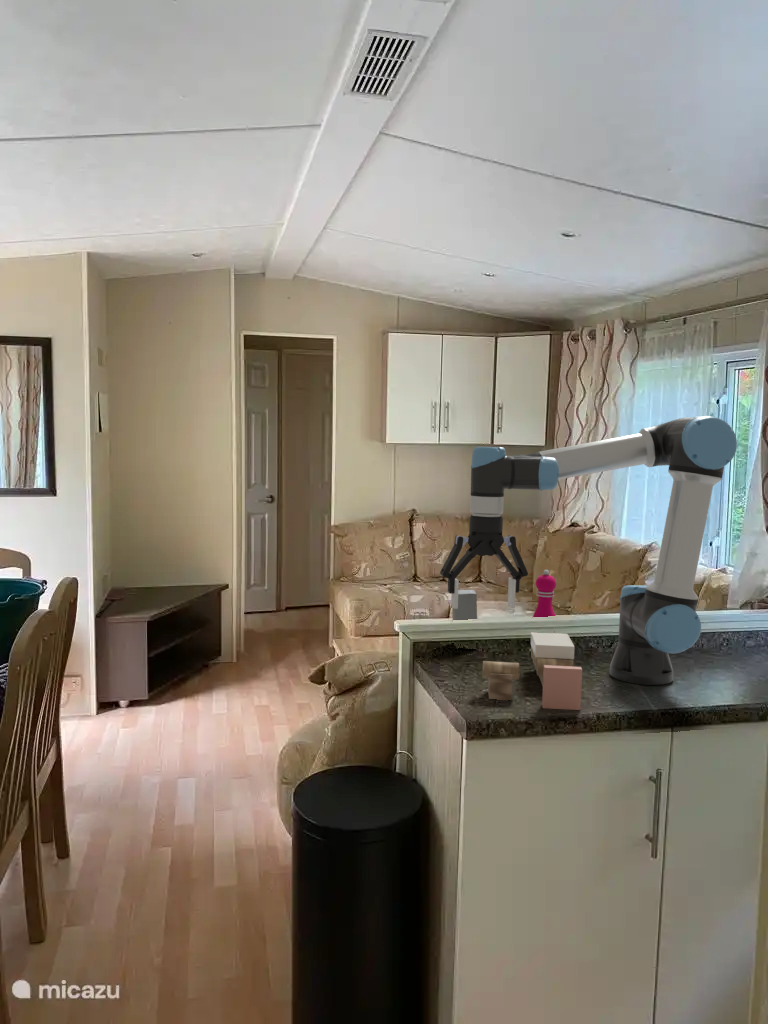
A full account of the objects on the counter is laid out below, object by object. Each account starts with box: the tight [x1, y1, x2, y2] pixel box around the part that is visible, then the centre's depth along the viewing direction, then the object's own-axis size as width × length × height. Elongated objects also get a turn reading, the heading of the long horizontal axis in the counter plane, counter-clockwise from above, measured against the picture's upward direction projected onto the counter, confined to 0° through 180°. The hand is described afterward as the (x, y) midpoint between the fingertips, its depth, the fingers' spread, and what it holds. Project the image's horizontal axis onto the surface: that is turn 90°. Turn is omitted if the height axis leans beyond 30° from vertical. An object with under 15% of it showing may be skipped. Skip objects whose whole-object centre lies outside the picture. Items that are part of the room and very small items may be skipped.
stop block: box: [541, 665, 583, 711], centre depth 176 cm, size 8×2×9 cm, turn 85°
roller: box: [482, 660, 520, 681], centre depth 183 cm, size 8×4×4 cm, turn 85°
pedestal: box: [487, 673, 513, 701], centre depth 184 cm, size 5×6×6 cm
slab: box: [530, 631, 576, 660], centre depth 197 cm, size 9×13×3 cm
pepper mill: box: [532, 569, 557, 618], centre depth 243 cm, size 7×7×20 cm
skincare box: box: [451, 589, 478, 621], centre depth 228 cm, size 8×7×16 cm
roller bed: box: [530, 645, 574, 687], centre depth 192 cm, size 8×30×7 cm, turn 175°
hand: (483, 607), depth 186 cm, fingers open, 13 cm apart
